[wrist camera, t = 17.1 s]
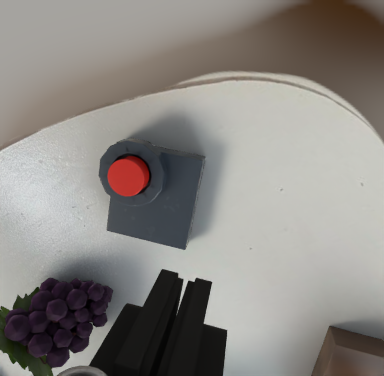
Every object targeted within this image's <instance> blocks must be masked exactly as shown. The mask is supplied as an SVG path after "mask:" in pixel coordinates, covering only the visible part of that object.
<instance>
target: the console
mask: <svg viewBox="0 0 384 376" xmlns="http://www.w3.org/2000/svg"><path fill="white" fill-rule="evenodd" d="M311 376H384V340H381V339H377V338H373V337H370V336H366V335H362V334H358V333H354V332H350V331H347V330H343V329H339V328H335V327H331V326H329V329H328V332H327V334H326V337H325V340H324V342H323V345H322V348H321V350H320V353H319V356H318V358H317V361H316V364H315V367H314V369H313V372H312V375H311Z"/></svg>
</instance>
